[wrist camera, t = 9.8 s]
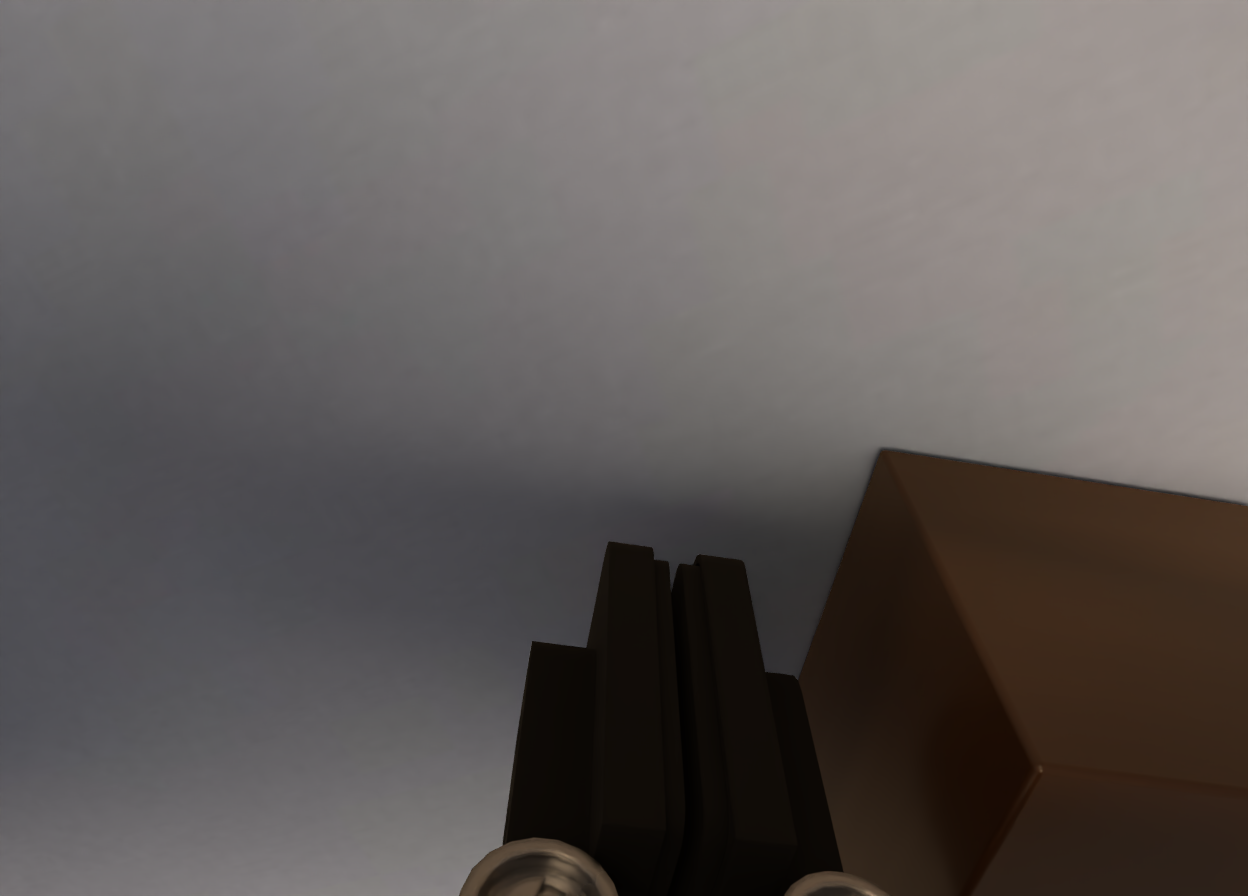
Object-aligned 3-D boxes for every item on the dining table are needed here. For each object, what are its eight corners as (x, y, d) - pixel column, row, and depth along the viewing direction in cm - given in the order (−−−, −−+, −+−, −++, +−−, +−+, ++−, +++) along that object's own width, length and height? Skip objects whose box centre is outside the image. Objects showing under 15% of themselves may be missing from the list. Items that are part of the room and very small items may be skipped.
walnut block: (778, 730, 14) (848, 1098, 9) (879, 446, 11) (1037, 767, 7) (1089, 769, 14) (1293, 1138, 10) (1252, 504, 12) (1618, 841, 7)
